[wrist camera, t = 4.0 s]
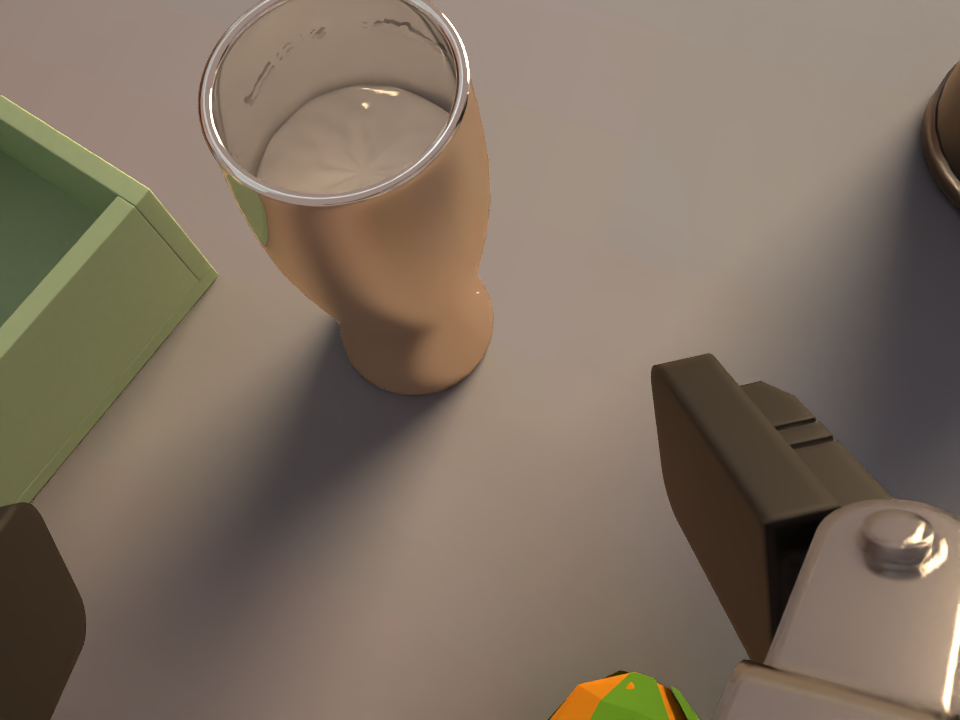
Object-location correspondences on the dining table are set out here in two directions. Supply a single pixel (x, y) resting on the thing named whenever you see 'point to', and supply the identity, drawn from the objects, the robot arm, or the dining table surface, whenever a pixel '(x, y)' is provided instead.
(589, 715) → the corn
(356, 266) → the beer glass
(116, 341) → the tub
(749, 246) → the dining table surface
